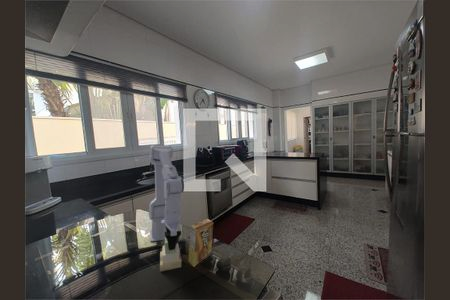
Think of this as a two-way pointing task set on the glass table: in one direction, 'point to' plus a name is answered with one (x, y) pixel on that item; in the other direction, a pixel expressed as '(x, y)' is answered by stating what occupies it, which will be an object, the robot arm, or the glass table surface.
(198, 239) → the candy box
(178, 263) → the slab bottom
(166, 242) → the block
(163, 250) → the slab top
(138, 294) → the glass table surface
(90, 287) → the glass table surface
